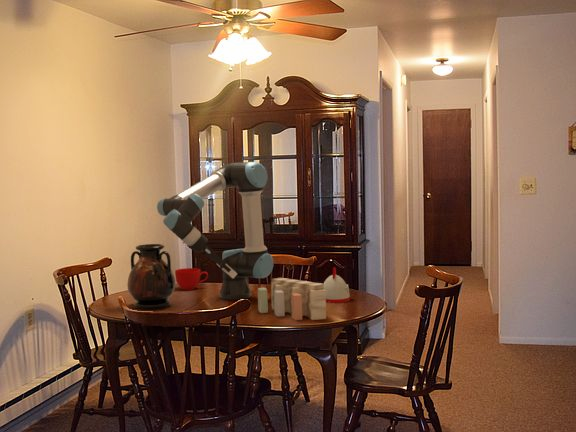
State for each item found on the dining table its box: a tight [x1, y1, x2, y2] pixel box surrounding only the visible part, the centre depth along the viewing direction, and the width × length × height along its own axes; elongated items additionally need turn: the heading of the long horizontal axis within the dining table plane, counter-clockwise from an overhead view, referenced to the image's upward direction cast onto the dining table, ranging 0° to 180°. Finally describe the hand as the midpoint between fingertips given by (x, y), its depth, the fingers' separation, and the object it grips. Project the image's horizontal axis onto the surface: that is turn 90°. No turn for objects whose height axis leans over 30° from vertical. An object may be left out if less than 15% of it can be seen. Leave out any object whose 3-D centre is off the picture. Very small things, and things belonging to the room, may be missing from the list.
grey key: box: [274, 290, 286, 317], centre depth 286 cm, size 5×3×10 cm, turn 15°
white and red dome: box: [323, 267, 351, 304], centre depth 316 cm, size 14×14×15 cm
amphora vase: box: [127, 243, 176, 310], centre depth 312 cm, size 22×22×28 cm
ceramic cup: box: [174, 267, 209, 291], centre depth 354 cm, size 13×17×10 cm
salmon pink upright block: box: [291, 293, 303, 321], centre depth 278 cm, size 5×3×10 cm, turn 15°
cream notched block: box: [270, 277, 327, 321], centre depth 288 cm, size 31×10×14 cm, turn 44°
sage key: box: [257, 287, 269, 314], centre depth 293 cm, size 5×3×10 cm, turn 15°
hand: (232, 273), depth 289 cm, fingers open, 12 cm apart
